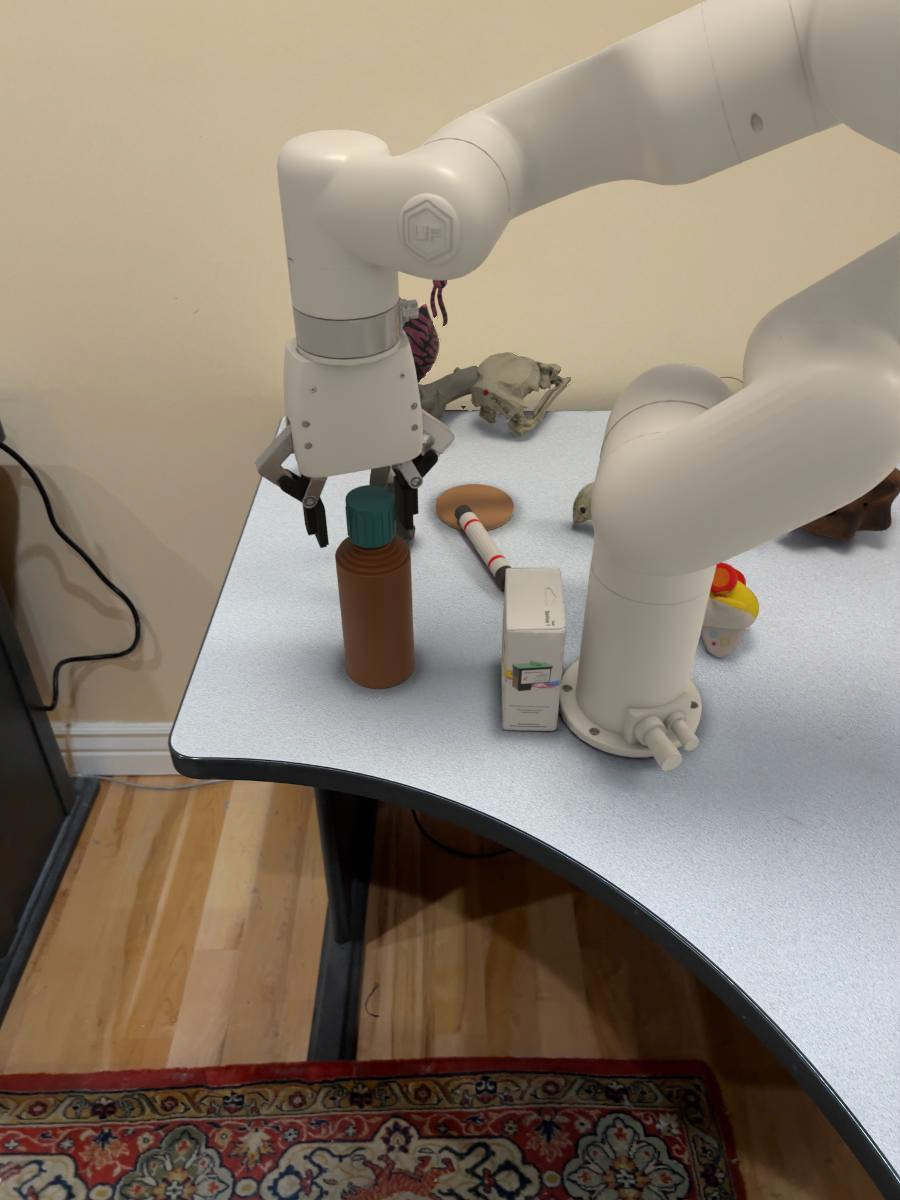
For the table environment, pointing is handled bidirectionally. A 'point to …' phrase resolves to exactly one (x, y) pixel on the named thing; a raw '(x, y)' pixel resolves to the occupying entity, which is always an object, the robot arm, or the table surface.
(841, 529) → the decorative turtle
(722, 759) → the table surface
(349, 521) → the cap
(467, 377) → the bone
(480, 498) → the coaster
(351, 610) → the bottle
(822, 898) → the table surface
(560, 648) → the ink box
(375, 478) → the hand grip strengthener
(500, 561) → the marker
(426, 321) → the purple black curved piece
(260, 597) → the table surface
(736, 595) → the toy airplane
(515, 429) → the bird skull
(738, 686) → the table surface
